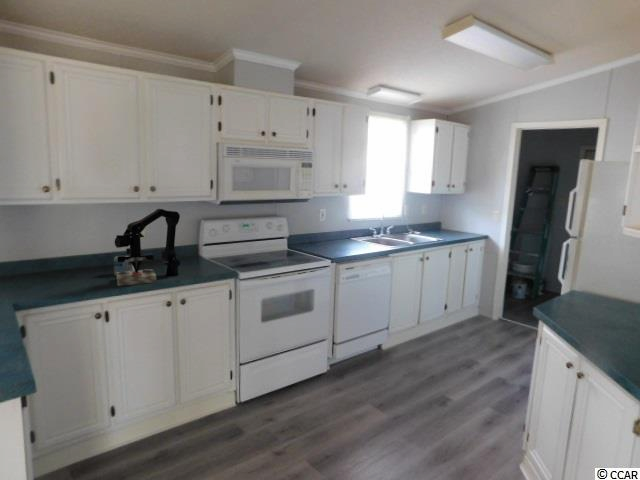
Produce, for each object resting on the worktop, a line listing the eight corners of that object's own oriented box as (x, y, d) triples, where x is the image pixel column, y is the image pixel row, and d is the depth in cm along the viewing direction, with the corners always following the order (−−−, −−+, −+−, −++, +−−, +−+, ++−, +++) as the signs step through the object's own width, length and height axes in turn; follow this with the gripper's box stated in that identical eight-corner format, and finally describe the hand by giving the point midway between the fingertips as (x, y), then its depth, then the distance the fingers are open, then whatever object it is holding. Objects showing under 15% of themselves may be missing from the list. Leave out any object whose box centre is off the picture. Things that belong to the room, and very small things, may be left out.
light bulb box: (114, 275, 246) (113, 258, 244) (116, 272, 252) (115, 255, 250) (133, 274, 249) (132, 257, 247) (135, 272, 255) (134, 255, 253)
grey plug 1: (128, 277, 239) (127, 270, 238) (128, 279, 235) (128, 271, 235) (120, 278, 237) (120, 271, 236) (120, 280, 233) (120, 272, 233)
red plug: (140, 278, 234) (139, 271, 234) (140, 280, 231) (140, 272, 230) (132, 279, 233) (132, 271, 232) (133, 281, 229) (132, 273, 228)
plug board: (153, 275, 247) (152, 269, 247) (156, 282, 233) (156, 275, 233) (116, 279, 238) (116, 272, 237) (117, 285, 224) (117, 278, 223)
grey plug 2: (149, 276, 244) (149, 268, 244) (150, 277, 241) (150, 270, 240) (142, 276, 242) (142, 269, 242) (143, 278, 239) (143, 270, 238)
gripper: (151, 242, 240) (152, 267, 243) (116, 244, 231) (117, 270, 234) (153, 245, 230) (154, 272, 233) (117, 247, 222) (118, 275, 224)
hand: (136, 272), depth 231 cm, fingers closed, pressing on red plug
